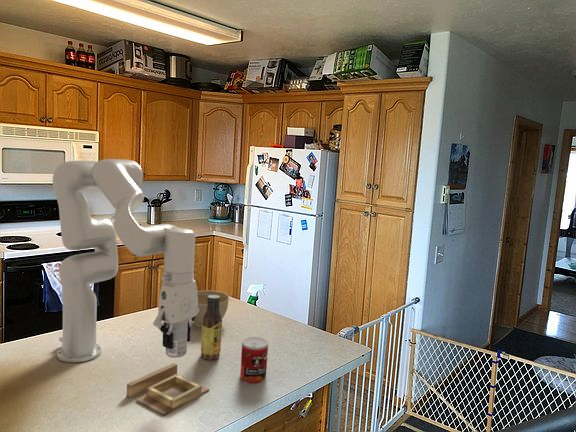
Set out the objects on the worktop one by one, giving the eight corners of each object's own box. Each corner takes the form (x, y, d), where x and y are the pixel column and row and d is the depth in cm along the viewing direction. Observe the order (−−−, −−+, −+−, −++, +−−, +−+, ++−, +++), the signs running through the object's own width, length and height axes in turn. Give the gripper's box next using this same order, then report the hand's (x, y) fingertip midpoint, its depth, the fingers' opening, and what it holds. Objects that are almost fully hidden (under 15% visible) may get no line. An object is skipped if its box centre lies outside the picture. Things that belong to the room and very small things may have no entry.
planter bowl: (183, 317, 177) (184, 291, 176) (224, 316, 182) (225, 290, 181) (186, 333, 162) (187, 304, 161) (231, 331, 167) (232, 303, 165)
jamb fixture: (126, 396, 119) (127, 383, 118) (173, 374, 132) (173, 362, 132) (163, 416, 111) (164, 402, 110) (208, 390, 124) (209, 378, 124)
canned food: (242, 385, 129) (244, 348, 127) (238, 371, 136) (240, 337, 135) (268, 383, 131) (271, 347, 129) (262, 370, 138) (265, 336, 137)
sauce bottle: (216, 361, 142) (219, 301, 139) (197, 358, 143) (200, 298, 140) (223, 353, 148) (226, 295, 145) (205, 350, 149) (208, 292, 147)
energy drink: (178, 347, 122) (179, 305, 121) (190, 354, 119) (192, 310, 118) (161, 353, 118) (162, 309, 117) (174, 360, 115) (175, 315, 113)
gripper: (162, 286, 107) (160, 358, 109) (212, 273, 121) (209, 338, 123) (142, 280, 111) (140, 350, 113) (192, 268, 125) (190, 330, 128)
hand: (176, 343), depth 118 cm, fingers closed on energy drink, 5 cm apart
